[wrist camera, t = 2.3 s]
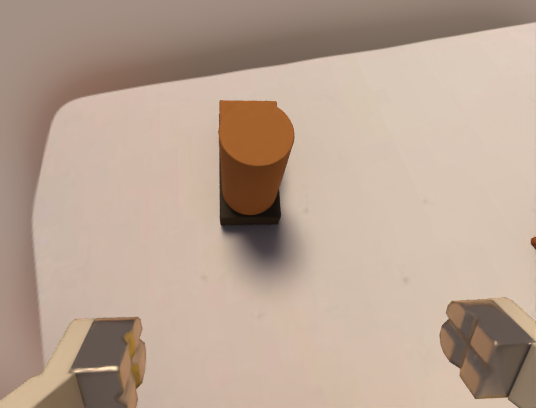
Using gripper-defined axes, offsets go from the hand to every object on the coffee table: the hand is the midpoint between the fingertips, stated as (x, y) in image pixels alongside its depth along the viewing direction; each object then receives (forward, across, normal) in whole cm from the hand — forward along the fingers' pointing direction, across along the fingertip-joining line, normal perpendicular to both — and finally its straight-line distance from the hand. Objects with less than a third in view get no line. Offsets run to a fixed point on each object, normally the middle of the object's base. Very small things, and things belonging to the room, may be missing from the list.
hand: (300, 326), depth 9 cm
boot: (+24, 0, +4) cm, 24 cm away
